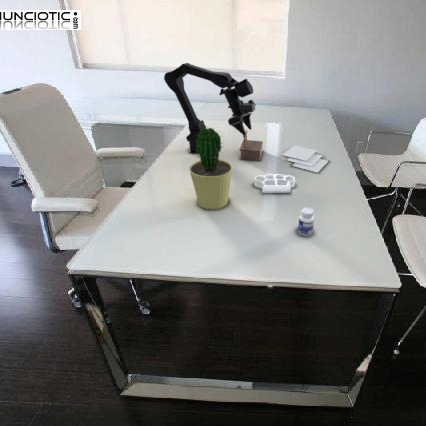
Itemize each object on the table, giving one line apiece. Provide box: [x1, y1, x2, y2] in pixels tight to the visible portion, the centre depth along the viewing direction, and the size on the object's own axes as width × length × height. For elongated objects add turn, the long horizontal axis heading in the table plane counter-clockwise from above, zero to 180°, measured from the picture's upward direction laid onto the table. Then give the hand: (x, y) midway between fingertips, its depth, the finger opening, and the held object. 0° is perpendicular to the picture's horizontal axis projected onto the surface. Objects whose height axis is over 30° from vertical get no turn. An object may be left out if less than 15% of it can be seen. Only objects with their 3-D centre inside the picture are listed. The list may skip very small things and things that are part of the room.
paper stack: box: [282, 145, 329, 173], centre depth 165 cm, size 23×25×1 cm
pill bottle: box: [297, 207, 315, 237], centre depth 109 cm, size 5×5×9 cm
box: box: [240, 143, 264, 162], centre depth 164 cm, size 10×14×5 cm
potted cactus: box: [188, 125, 233, 210], centre depth 115 cm, size 15×15×30 cm
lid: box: [238, 129, 264, 152], centre depth 160 cm, size 10×14×7 cm
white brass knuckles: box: [253, 173, 296, 194], centre depth 137 cm, size 3×18×15 cm
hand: (247, 132), depth 154 cm, fingers open, 9 cm apart
